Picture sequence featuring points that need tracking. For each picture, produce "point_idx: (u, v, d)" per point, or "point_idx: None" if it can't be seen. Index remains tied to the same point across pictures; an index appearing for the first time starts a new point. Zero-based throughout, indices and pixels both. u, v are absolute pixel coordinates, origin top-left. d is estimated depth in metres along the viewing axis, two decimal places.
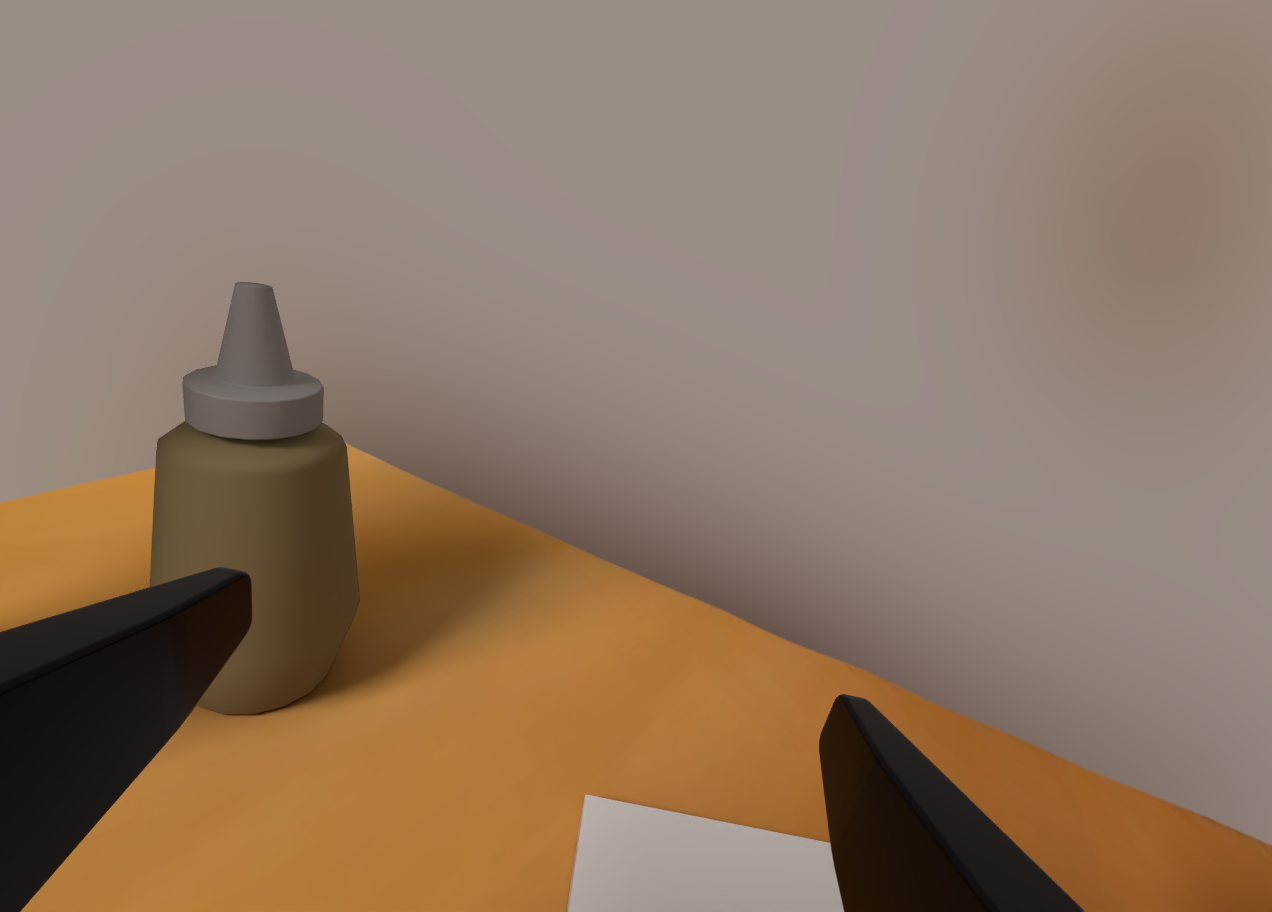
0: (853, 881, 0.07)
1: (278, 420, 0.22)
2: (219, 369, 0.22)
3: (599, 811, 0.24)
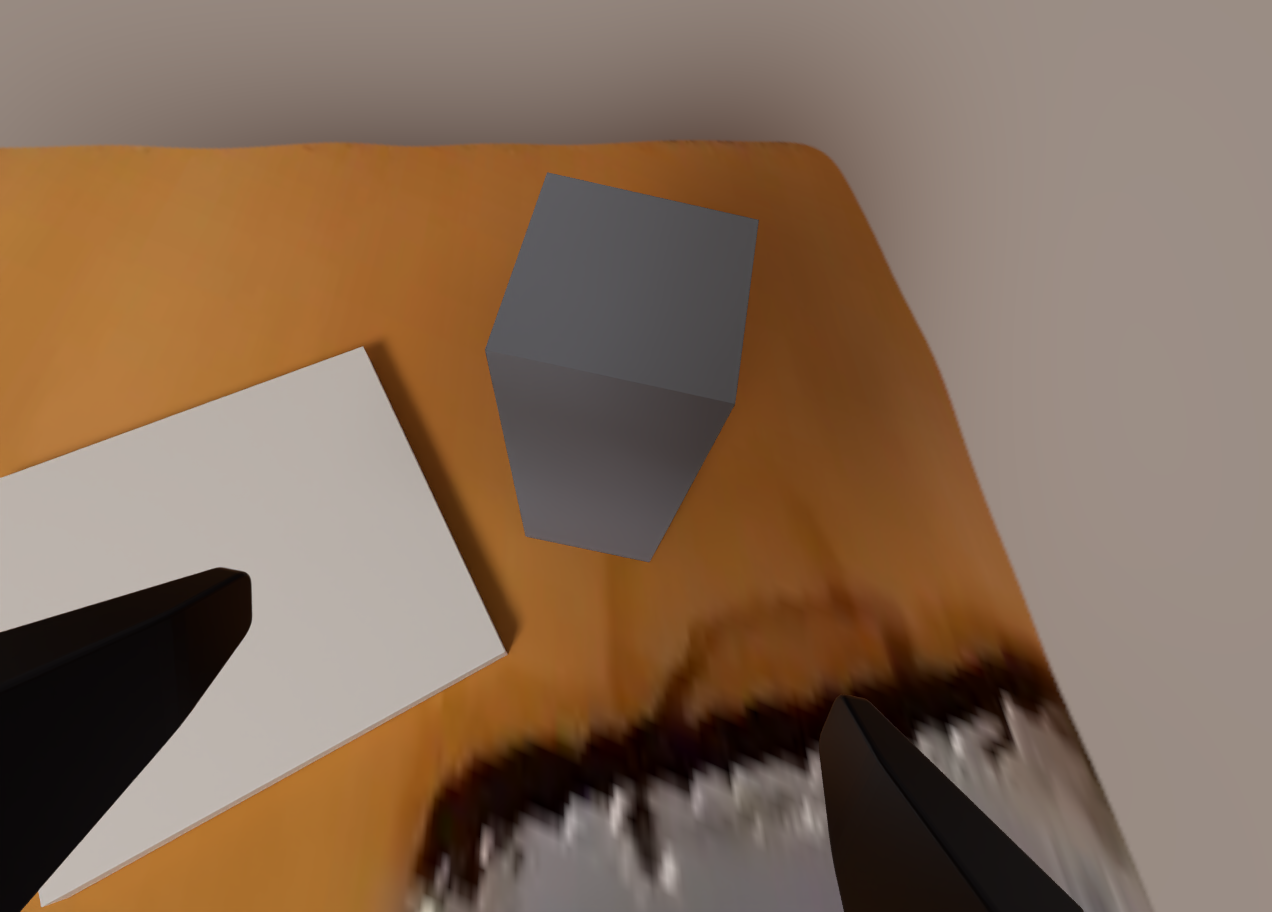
0: (853, 881, 0.07)
1: None
2: None
3: None
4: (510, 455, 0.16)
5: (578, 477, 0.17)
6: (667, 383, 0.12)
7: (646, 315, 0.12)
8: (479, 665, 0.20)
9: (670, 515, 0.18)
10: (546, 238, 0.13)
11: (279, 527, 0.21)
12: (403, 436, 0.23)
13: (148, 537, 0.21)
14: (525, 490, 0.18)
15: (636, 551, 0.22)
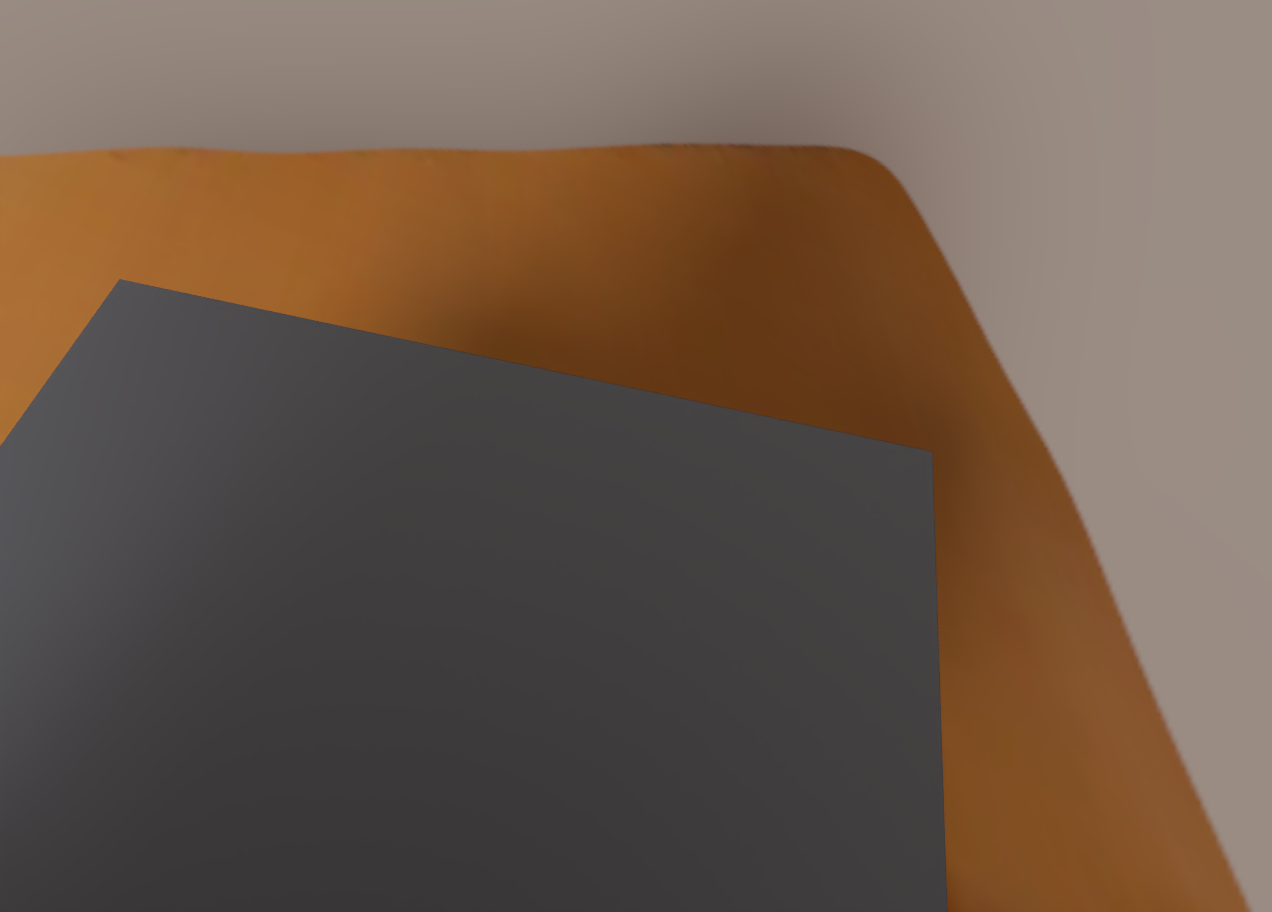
0: None
1: None
2: None
3: None
4: None
5: None
6: None
7: None
8: None
9: None
10: None
11: None
12: None
13: None
14: None
15: None
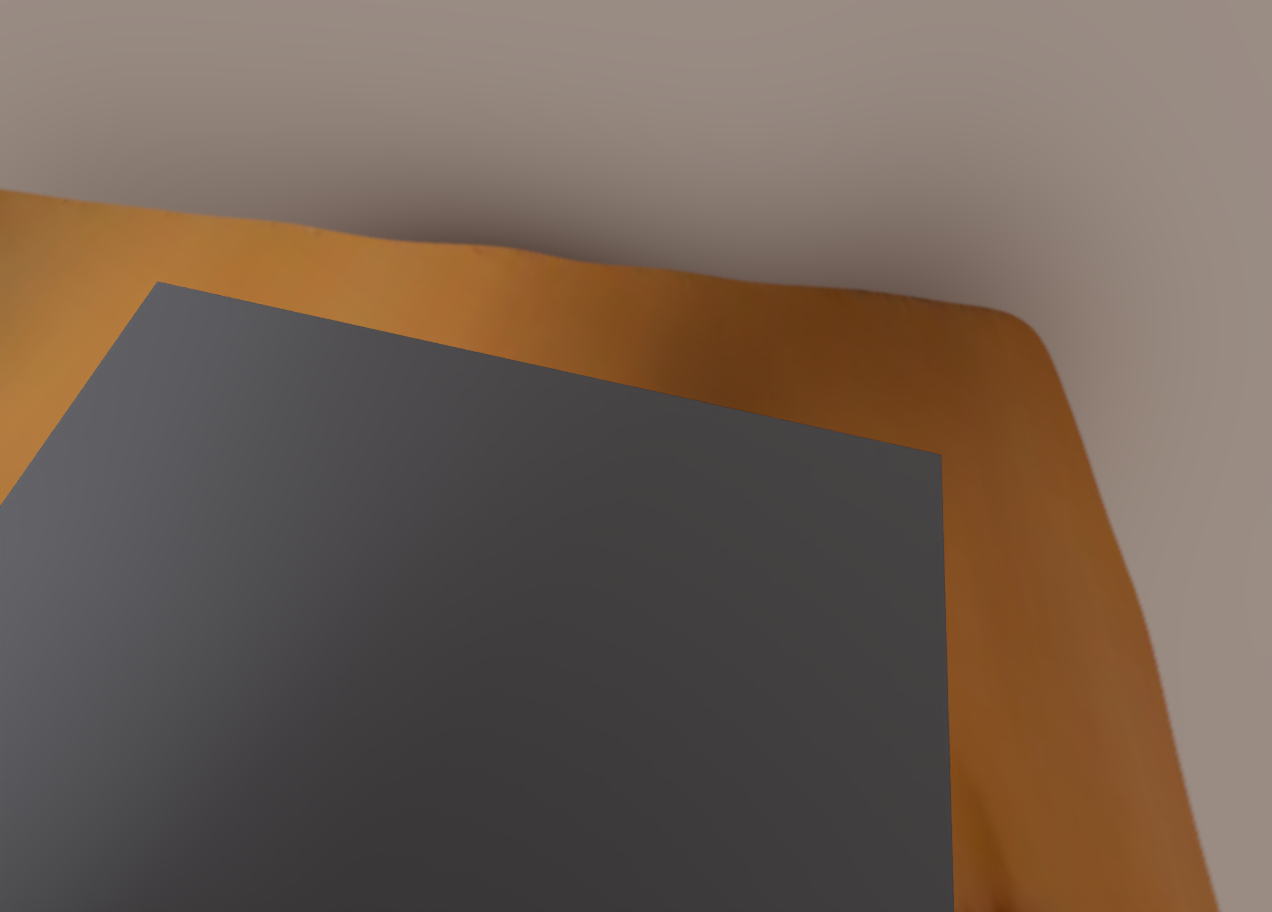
0: None
1: None
2: None
3: None
4: None
5: None
6: None
7: None
8: None
9: None
10: (39, 604, 0.03)
11: None
12: None
13: None
14: None
15: None
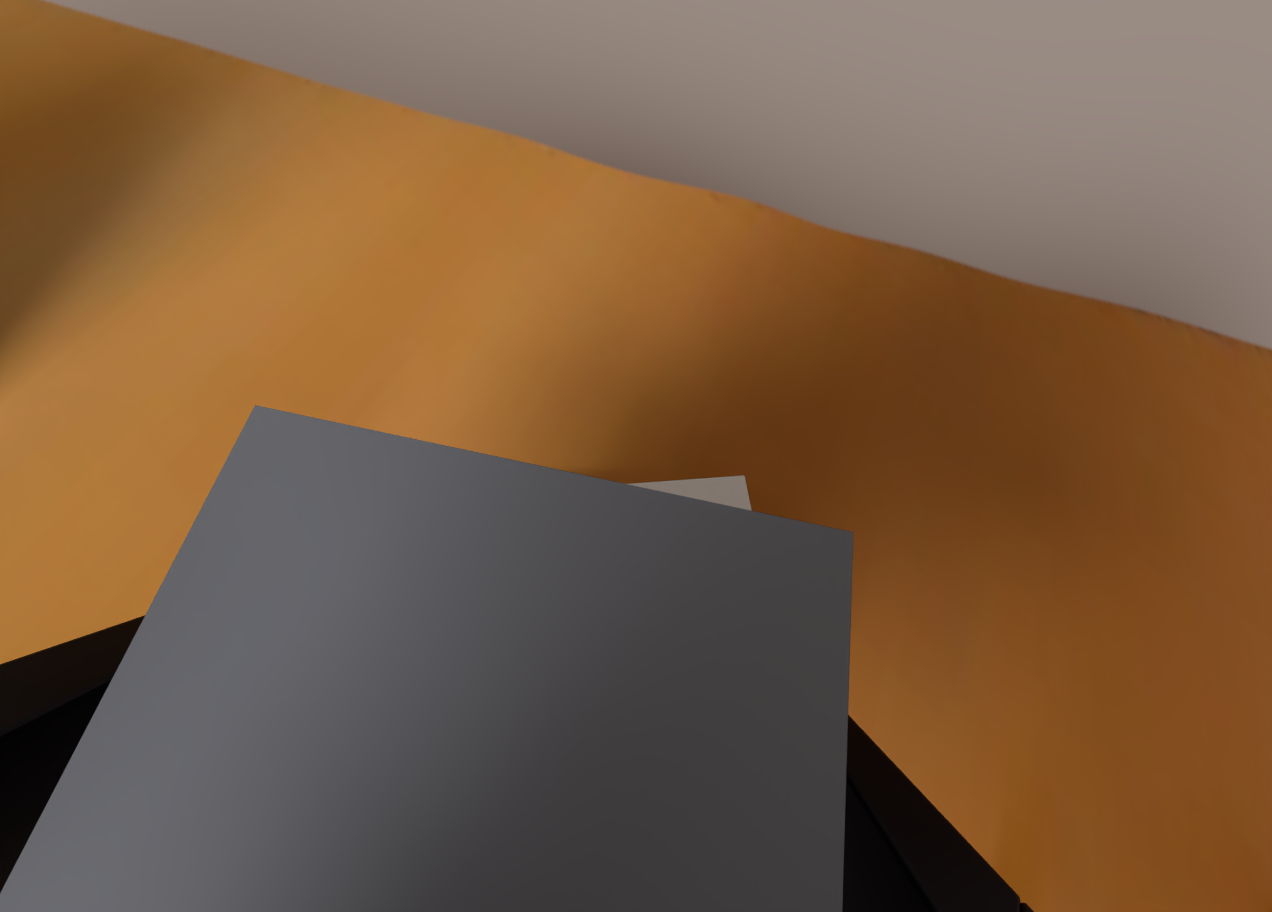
0: None
1: None
2: None
3: None
4: None
5: None
6: None
7: None
8: None
9: None
10: (196, 664, 0.04)
11: None
12: None
13: None
14: None
15: None
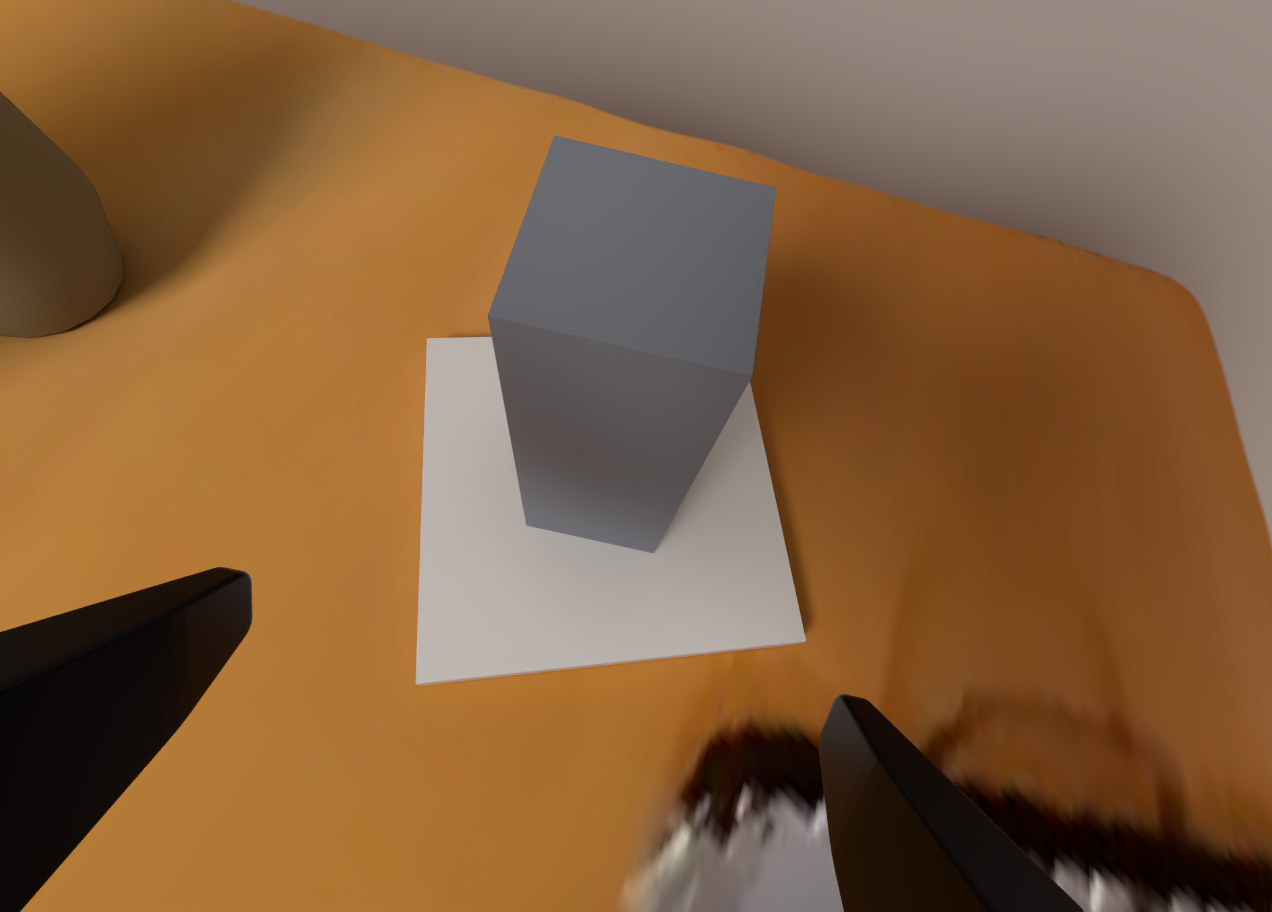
0: (853, 881, 0.07)
1: None
2: None
3: (442, 350, 0.25)
4: (512, 436, 0.15)
5: (582, 460, 0.16)
6: (681, 353, 0.11)
7: (658, 283, 0.12)
8: (781, 643, 0.22)
9: (677, 502, 0.17)
10: (554, 202, 0.12)
11: None
12: (757, 419, 0.26)
13: None
14: (527, 474, 0.18)
15: (640, 542, 0.22)
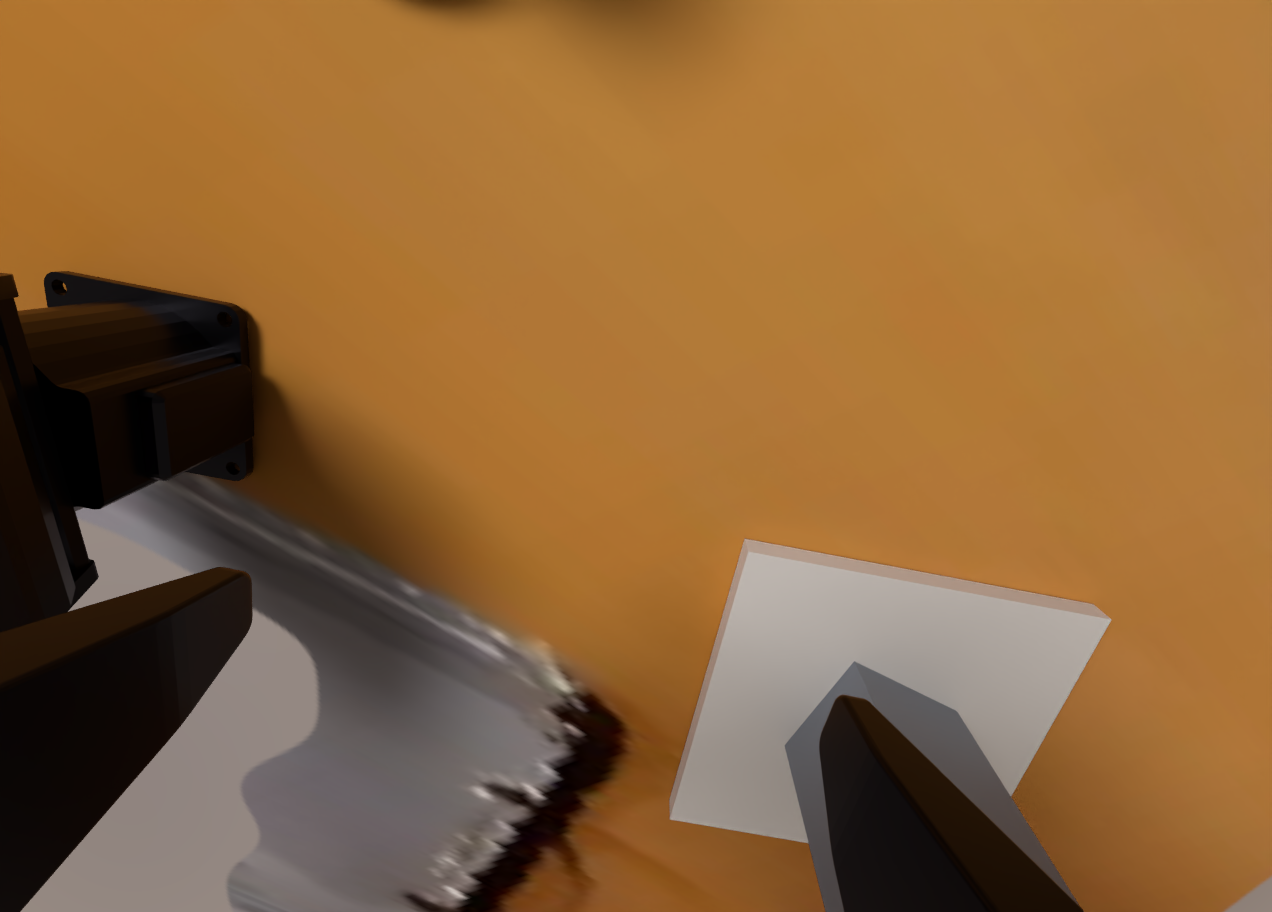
0: (853, 881, 0.07)
1: None
2: None
3: (1087, 631, 0.22)
4: None
5: None
6: None
7: None
8: (674, 802, 0.26)
9: (822, 887, 0.19)
10: None
11: None
12: None
13: (948, 698, 0.24)
14: None
15: (799, 756, 0.24)
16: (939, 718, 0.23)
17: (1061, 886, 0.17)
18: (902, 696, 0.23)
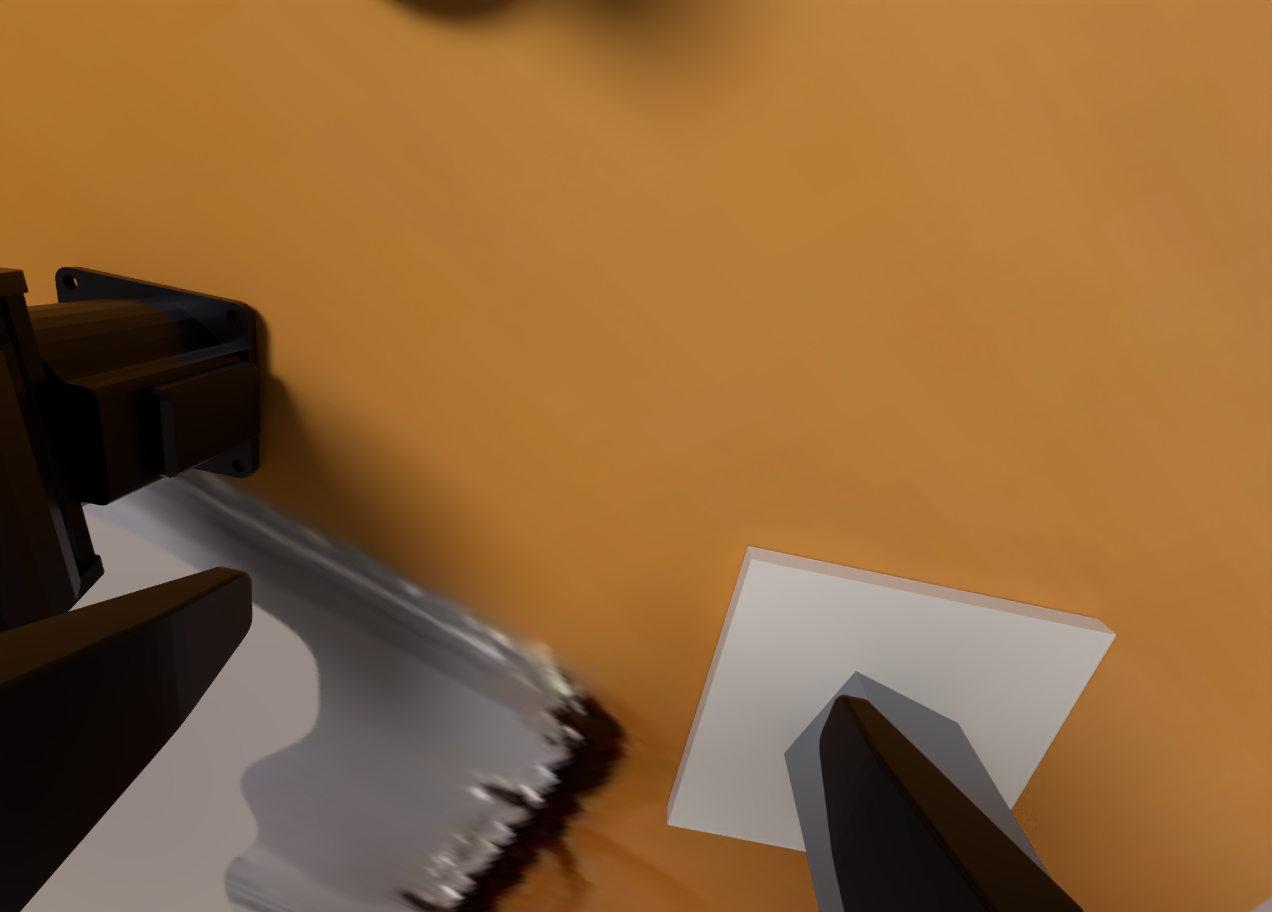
0: (853, 881, 0.07)
1: None
2: None
3: (1091, 645, 0.22)
4: None
5: None
6: None
7: None
8: (672, 808, 0.26)
9: (819, 898, 0.19)
10: None
11: None
12: None
13: (950, 710, 0.24)
14: None
15: (798, 765, 0.24)
16: (940, 730, 0.23)
17: None
18: (903, 707, 0.23)
